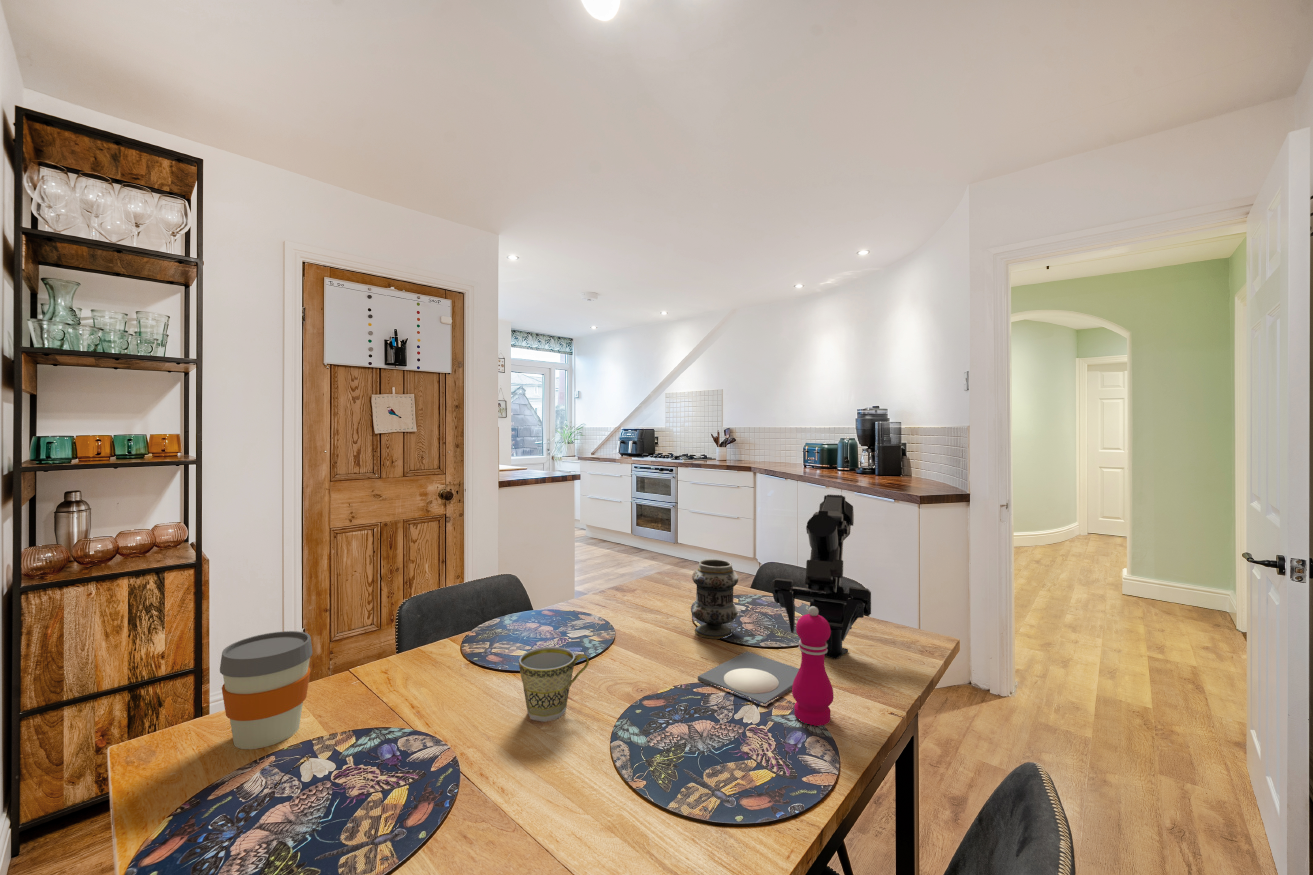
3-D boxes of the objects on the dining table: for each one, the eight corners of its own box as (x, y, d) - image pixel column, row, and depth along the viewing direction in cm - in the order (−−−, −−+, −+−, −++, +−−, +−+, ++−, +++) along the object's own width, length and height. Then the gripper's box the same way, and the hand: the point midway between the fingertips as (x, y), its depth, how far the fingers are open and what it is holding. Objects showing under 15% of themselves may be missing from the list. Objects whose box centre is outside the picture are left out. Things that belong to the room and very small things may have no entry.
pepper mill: (835, 729, 93) (837, 614, 93) (792, 725, 94) (793, 611, 94) (830, 709, 100) (832, 601, 100) (790, 704, 101) (791, 598, 101)
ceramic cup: (525, 732, 91) (526, 673, 91) (512, 705, 100) (513, 652, 100) (597, 714, 97) (598, 659, 97) (579, 691, 106) (579, 640, 106)
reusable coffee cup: (239, 765, 81) (239, 666, 81) (205, 739, 88) (206, 648, 88) (326, 727, 92) (327, 640, 92) (290, 707, 99) (291, 625, 99)
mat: (746, 654, 125) (746, 650, 125) (810, 676, 114) (810, 671, 114) (697, 679, 111) (697, 675, 111) (764, 707, 100) (764, 702, 100)
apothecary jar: (740, 641, 132) (741, 568, 132) (691, 640, 133) (692, 567, 132) (734, 624, 144) (735, 557, 144) (689, 623, 145) (690, 556, 145)
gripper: (773, 538, 111) (761, 607, 101) (871, 547, 103) (869, 622, 93) (780, 568, 118) (769, 635, 108) (872, 578, 111) (869, 651, 100)
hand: (816, 635), depth 102 cm, fingers open, 9 cm apart
